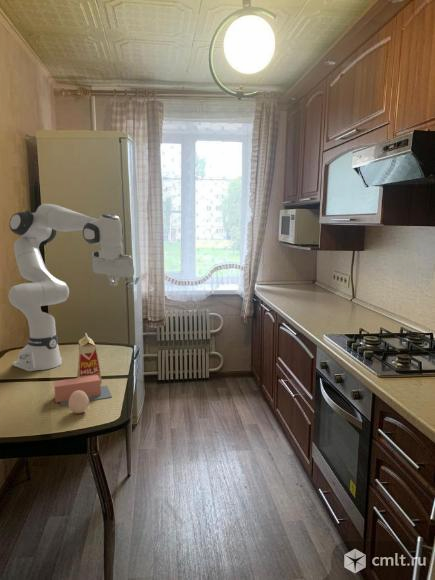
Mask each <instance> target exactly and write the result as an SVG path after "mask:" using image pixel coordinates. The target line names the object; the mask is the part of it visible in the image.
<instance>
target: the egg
mask: <svg viewBox="0 0 435 580" xmlns="http://www.w3.org/2000/svg"><path fill="white" fill-rule="evenodd" d="M89 405H90V401H89V399H88V396H87V394H86V393H85V392H83V391H81V390H77V391H75V392H73V393H72V395H71V396H70V398H69V405H68V408H69V409H70V410H71V412H73V414H81V413H83V412H85V411H86V410H87V409H88V407H89Z"/></svg>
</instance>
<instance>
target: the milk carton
mask: <svg viewBox="0 0 435 580" xmlns="http://www.w3.org/2000/svg"><path fill="white" fill-rule="evenodd" d="M84 334H85V336H83V337H82V338H80V339H79V340H78V369H77V374H76V375H77V376H76V378H80V377H87V376H94V375H98V376H99V378H100V383H102V382H103V381H102V374H101V365H100V360H99V355H98V351H97V347H96V344H95V342H94V340H93V339H92V338H90V336H88V333H87V332H85V333H84Z"/></svg>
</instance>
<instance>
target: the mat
mask: <svg viewBox="0 0 435 580" xmlns="http://www.w3.org/2000/svg"><path fill="white" fill-rule="evenodd" d="M100 386H101V395H99V396H93V397H88V399H89V402H93V401H98V400H104V399H110V398H112V397H113V396H112V394H111V391H110V389H109V387H108V385H100ZM59 404H60V407H62V406H69V401H63V402H59Z"/></svg>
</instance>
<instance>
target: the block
mask: <svg viewBox="0 0 435 580" xmlns="http://www.w3.org/2000/svg"><path fill="white" fill-rule="evenodd" d="M53 386H54V387H53V388H54V389H53V390H54V399H55V400H54V401H55V404H56V403H60V402H63V401H69V398H70V396H71V395H72V393H73V392H75V391H77V390H81V391H83V392H85V393H86V394H87V396H88V397H93V396H99V395H101V386H102V385H101V382H100V378H99V376H98V375H94V376H87V377H80V378H77V377H75V378H68V379H60V380H55V381H53Z"/></svg>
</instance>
